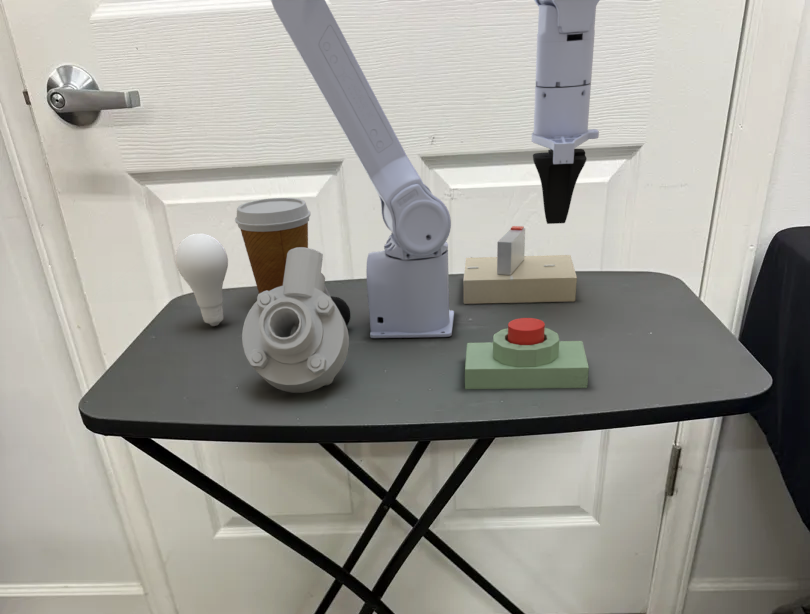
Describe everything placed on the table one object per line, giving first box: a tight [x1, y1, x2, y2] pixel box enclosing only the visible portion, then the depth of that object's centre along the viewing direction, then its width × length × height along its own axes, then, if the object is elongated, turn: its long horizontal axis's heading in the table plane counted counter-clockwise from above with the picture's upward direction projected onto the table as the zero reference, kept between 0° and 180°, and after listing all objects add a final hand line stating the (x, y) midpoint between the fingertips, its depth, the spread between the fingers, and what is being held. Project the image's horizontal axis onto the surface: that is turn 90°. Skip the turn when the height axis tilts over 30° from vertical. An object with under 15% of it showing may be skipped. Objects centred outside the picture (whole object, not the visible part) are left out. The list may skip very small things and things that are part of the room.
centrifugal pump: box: [241, 247, 351, 394], centre depth 83 cm, size 10×20×15 cm
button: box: [507, 317, 546, 345], centre depth 77 cm, size 4×4×2 cm
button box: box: [464, 327, 590, 390], centre depth 78 cm, size 12×7×4 cm, turn 85°
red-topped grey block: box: [496, 225, 526, 275], centre depth 99 cm, size 7×2×4 cm, turn 159°
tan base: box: [462, 254, 578, 305], centre depth 101 cm, size 14×11×3 cm
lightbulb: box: [174, 232, 229, 327], centre depth 94 cm, size 6×6×11 cm
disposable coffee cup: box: [234, 197, 311, 294], centre depth 100 cm, size 10×10×12 cm
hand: (555, 222), depth 88 cm, fingers closed
